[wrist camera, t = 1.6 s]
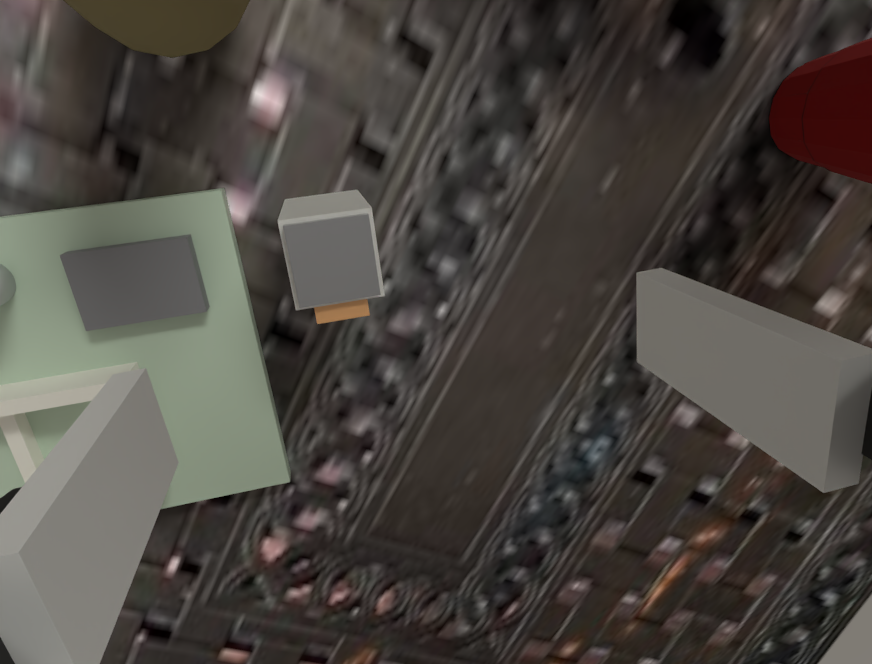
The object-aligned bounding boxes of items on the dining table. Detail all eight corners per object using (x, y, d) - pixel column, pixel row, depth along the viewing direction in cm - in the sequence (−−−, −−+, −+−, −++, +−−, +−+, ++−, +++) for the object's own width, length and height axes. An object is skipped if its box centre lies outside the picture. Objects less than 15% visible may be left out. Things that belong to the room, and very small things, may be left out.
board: (-112, 230, 28) (-180, 247, 24) (224, 187, 30) (211, 196, 27) (22, 526, 34) (-15, 577, 30) (290, 471, 37) (288, 511, 33)
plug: (284, 199, 31) (276, 222, 24) (357, 189, 32) (372, 208, 24) (301, 282, 33) (299, 329, 25) (369, 272, 34) (388, 314, 26)
